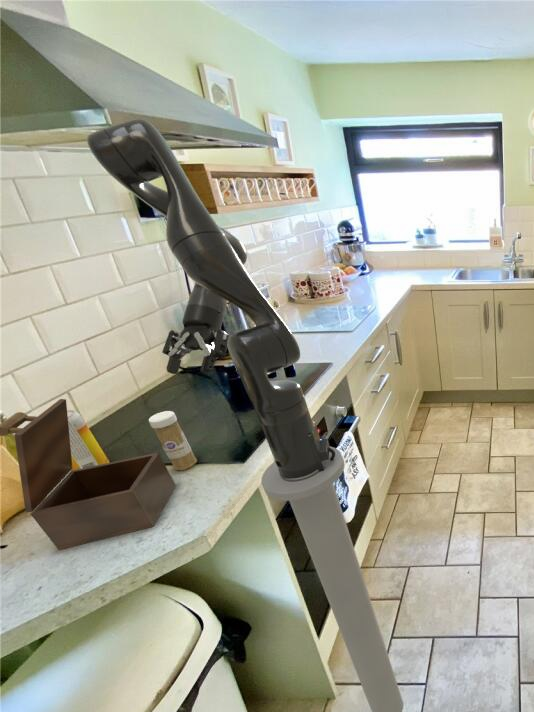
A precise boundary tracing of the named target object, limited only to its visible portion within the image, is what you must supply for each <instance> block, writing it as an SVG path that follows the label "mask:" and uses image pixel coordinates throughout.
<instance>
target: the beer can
mask: <svg viewBox="0 0 534 712" xmlns="http://www.w3.org/2000/svg"><path fill="white" fill-rule="evenodd" d="M67 415H68V426H69V436H70V447H71V457H72V468H73V469H72V470H77V469H81V468H86V467H91V466H96V465H101V464H106V463H110V462H111V461H110V460H109V458H108V457H107V455H106V454H105V452H104V450H103V449H102V447H101V446H100V444H99V443H98V441H97V440H96V438H95V436H94V434H93V433H92V431H91V430H90V428H89V427H88V424H86V422H85V420H84V418H83V417H82V416H81V414H80V413H78V412H77V411H75V410H74V409H67ZM72 470H71V471H72Z"/></svg>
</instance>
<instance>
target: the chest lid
mask: <svg viewBox="0 0 534 712" xmlns="http://www.w3.org/2000/svg"><path fill="white" fill-rule="evenodd" d="M67 405H68V404H67V399H66V398H60V399H58V400H57V401H55V403H53V404H52V405H50V407H48V408H47V409H46V410H44V411H43V412H42V413H40V414H39V415H38V416H34V415H28V414H27V413H25V412H21V411H20V412H15V413H14V414H13V415H11V416H10V417H8V418H7V419H5V420H4V421H3V422H1V423H0V437H5V436H8V435H9V434H14V442H15V448H16V456H17V462H18V469H19V477H20V483H21V491H22V498H23V503H24V510H25V513H32V512H33V511H34V510H35V509H36V508H37V507H38V506H39V505H40V504H41V503H42V502H43V500H44V499H45V498H46V497H47V496H48V495H49V494H50V493H51V492H52V491H53V490H54V489H55V488H56V487H57V485H58V484H59V483H60V482H61V481H62V480H63V479H64V478H65V477H66V476H67V475H68V474H69V473H70V471H71V470H72V469H73V468H72V457H71V447H70V436H69V426H68V415H67V410H68V406H67ZM26 422H28V423H27V424H26V425H25V426H23V427H20V426H21V425H23V424H24V423H26Z"/></svg>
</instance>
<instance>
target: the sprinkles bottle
mask: <svg viewBox="0 0 534 712" xmlns="http://www.w3.org/2000/svg"><path fill="white" fill-rule="evenodd" d="M148 423H149V425H150V427H151V429H153V430H154V432H155V434H156V436H157V438H158V440H159V442H160V444H161V447H162V448H163V450H164V452H165V454H166V456H167V458H168V460H169V461H170V464H171V465H172V467H173V470H175V471H185V470H188V469H190V468H192V467H193V466H195V465H196V464H197V462H198V459H197V457H196V456H195V453H194V452H193V450H192V448H191V446H190V443H189V442H188V440H187V438H186V436H185V434H184V431H183V430H182V427H181V426H180V423H179V421H178V417H177V415H176V414H175V412H174V411H173V410H172V411H171V410H164V411H161V412H157V413H155V414H153V415H151V416H150V417H149V418H148Z"/></svg>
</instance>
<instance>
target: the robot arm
mask: <svg viewBox="0 0 534 712" xmlns="http://www.w3.org/2000/svg"><path fill="white" fill-rule="evenodd" d="M86 143H87V146H88V147H89V150H90V152H91V154H92V155H93V157H94V158H95V159H96V161H97V162H98V163H99V164H100V165H101V167H102V168H103V169H104V170H105V171H106V172H107V173H108V174H109V176H111V177H112V178H113V179H114V180H115V181H117V182H118V183H119V184H120V185H122V187H124V188H125V189H127V190H128V191H129V192H131V194H133V195H135V197H137V198H139V200H141V201H143V203H145V204H146V205H147V206H149V207H150V208H152V209H154V210H155V211H156V212H157V213H159V214H160V215H162V216H163V217H164V218H166V226H165V227H166V228H165V236H166V243H167V245H168V248H169V250H170V252H171V253H172V254H173V256H174V257H175V259H176V261H177V262H178V263H179V265H180V266H181V268H182V269H183V271H184V272H185V274H186V276H188V278H189V279H191V280H192V281H193V282H194V285H193V288H192V291H191V293H190V295H189V297H188V301H187V304H186V307H185V311H184V314H183V318H182V322H181V323H182V325H183V329H182V330H181V331H180V332H178V331H175V330H170V331H169V332H168V334H167V337H166V340H165V343H164V346H163V349H162V352H161V353H162V354H163V355H166V356H168V357H169V358H168V362H167V365H166V372H167V373H169V374H172V375H177V374H178V373H179V370H180V367H181V363H182V359H183V358H184V357H185V356H186V355H187V354H190V353H191V352H193V351H198V350H200V351H203V353H204V355H205V356H203V359H202V362H201V366H200V372H201V373H203V374H205V375H210V374H211V373H212V372H213V370H214V366H215V363H216V360H218V358H224V357H225V356H226V355H227V350H228V354H229V356H230V359H231V361H232V364H233V365H234V367H235V370H236V371H237V373H238V375H239V378H240V379H241V382H242V384H243V387H244V389H245V392H246V394H247V396H248V397H249V399H250V401H251V403H252V405H253V408H254V410H255V413H256V417H257V419H258V421H259V424H260V427H261V429H262V431H263V434H264V436H265V439H266V442H267V445H268V447H269V449H270V452H271V454H272V460H273V462H275V464H276V466H277V468H278V470H279V474H280V476H281V478H282V479H283V480H286V481H300V480H304V479H307V478H310V477H312V476H314V475H315V474H317V473H318V472H321V471H324V470H325V460H328V459H329V452H331V453H332V456H331V458H330V460H331V461H333V460H334V457H335V452H334V450H333V449H331V448H330V447H331V446H330V442H329V439H328V438H322V439H321V436H320V433H319V431H318V428H317V425H316V422H315V421H313V420H312V417H311V414H310V410H309V407H308V404H307V402H306V397H305V395H304V391H303V388H302V386H301V385H300V384H299V383H298V382H297V381H294V380H287V379H284V380H283V379H282V380H270V379H269V376H268V375H270V374H273V373H275V372H278V371H281V370H282V369H285V368H288V367H290V366H293V365H295V364H296V363H298V362H299V360H300V358H301V350H300V346H299V344H298V342H297V339H296V337H295V335H294V334H293V332H292V331H291V330H290V328H289V327H288V325H287V324H286V322H285V321H284V320H283V319H282V317H281V316H280V315H279V313H278V312H277V311H276V309H275V308H274V307H273V306H272V304H271V303H270V302H269V301H268V299H267V298H266V297H265V295H264V294H263V293H262V291H261V290H260V288H259V287H258V286H257V284H256V282H255V281H254V280H253V278H252V276H251V275H250V274H249V272H248V270H247V269H246V267H245V266H244V265H245V264H246V262H247V260H248V252H247V250H246V247H245V246H244V244H243V243H242V242H241V241H240V240H239V239H238V238H237V237H236V236H235V235H233V234H232V233H231V232H229V231H227V230H226V229H224V228H223V227H221V226H219V225H218V224H217V222H216V221H215V219H214V218H213V216H212V214H210V212H209V211H208V209H207V208H206V206H205V205H204V203H203V202H202V200H201V199H200V197H199V195H198V193H197V192H196V190H195V189H194V187H193V185H192V184H191V182H190V180H189V178H188V176H187V175H186V173H185V171H184V169H183V168H182V165H181V164H180V162H179V161H178V159H177V157H176V155H175V154H174V152H173V150H172V149H171V147H170V145H169V143H168V142H167V141H166V139H165V138H164V137H163V135H162V133H160V131H159V129H157V127H155V126H154V125H153V124H152V123H151V122H149V121H148V120H146V119H145V118H144V119H143V118H133V119H129V120H126V121H123V122H119V123H117V124H113V125H110V126H107V127H105V128H101V129H99V130H96V131H94V132H91V133H90V134H88V135H87V137H86ZM159 178H163V181H164V184H165V187H166V190H165V189H163V188H160V187H159V186H157V185H154V184H152V183H151V181H154V180H157V179H159ZM228 302H229V303H231V304H232V305H234V306H235V307H237V308H238V309H240V311H242V312H243V313H244V314H245V315H246V316H247V317H248V318H249V319H250V320H251V321H252V322H253V323H254V325H255V326H252V327H249V328H246V329H241V330H240V331H235V332H234V333H232V334H229V333H227V332H226V331H224V330H222V325H223V322H224V318H225V314H226V311H227V306H228V305H227V304H228ZM183 345H184V346H183Z"/></svg>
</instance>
